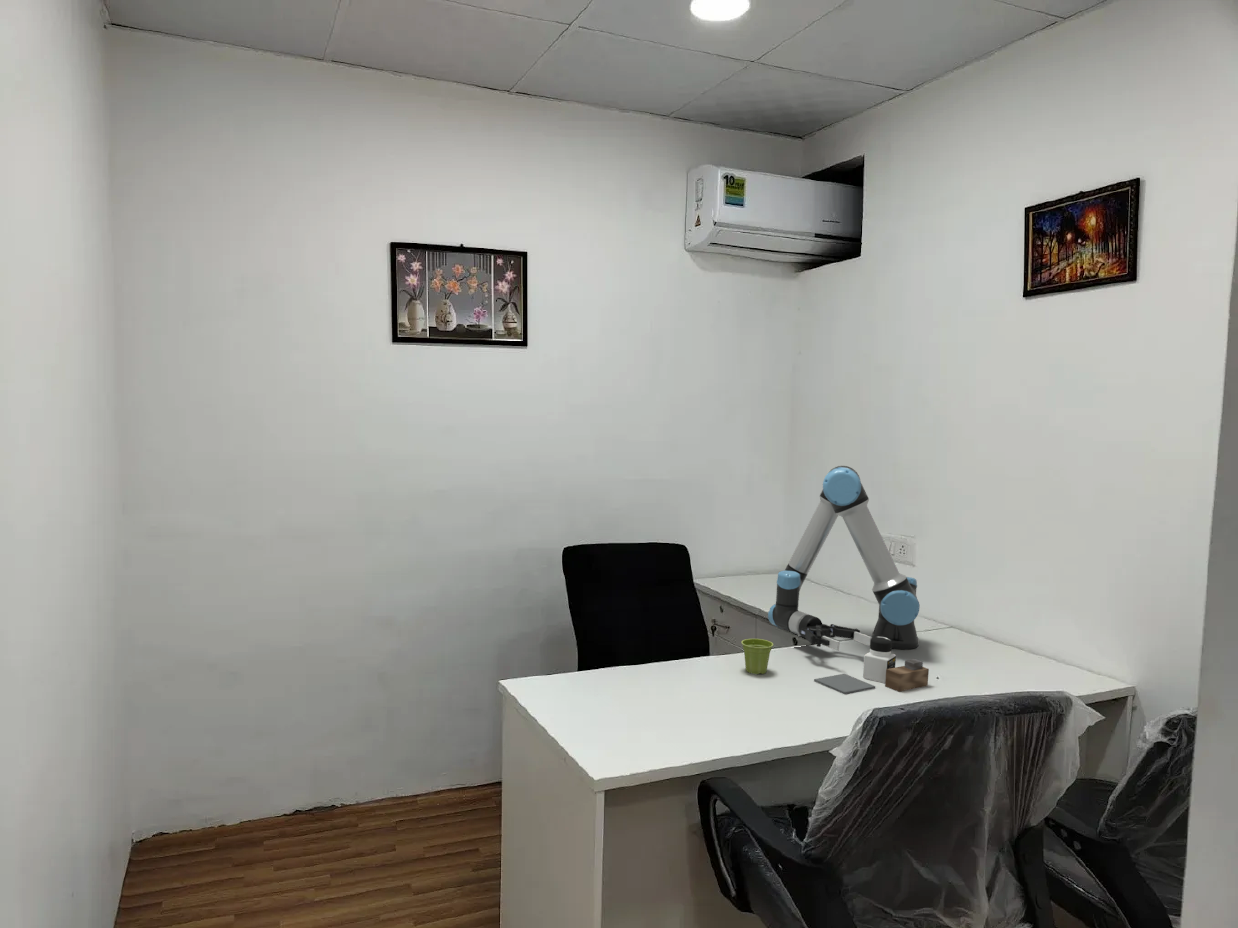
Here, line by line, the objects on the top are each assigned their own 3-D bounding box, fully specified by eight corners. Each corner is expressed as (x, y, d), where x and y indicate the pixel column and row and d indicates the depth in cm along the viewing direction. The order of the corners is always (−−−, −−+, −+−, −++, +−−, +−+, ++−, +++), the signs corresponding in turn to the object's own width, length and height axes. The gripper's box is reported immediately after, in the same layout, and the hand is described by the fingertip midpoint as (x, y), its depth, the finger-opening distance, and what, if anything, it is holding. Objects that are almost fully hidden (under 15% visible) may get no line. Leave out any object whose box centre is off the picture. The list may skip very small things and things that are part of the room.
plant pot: (735, 672, 248) (736, 643, 247) (746, 664, 256) (747, 636, 255) (766, 678, 243) (767, 649, 243) (775, 669, 252) (777, 641, 251)
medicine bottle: (886, 683, 243) (889, 643, 242) (862, 678, 247) (864, 638, 246) (894, 677, 248) (897, 638, 248) (871, 672, 253) (873, 633, 252)
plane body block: (913, 680, 247) (915, 657, 246) (927, 685, 242) (929, 662, 242) (885, 686, 241) (886, 662, 240) (898, 691, 236) (900, 667, 236)
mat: (844, 675, 249) (844, 673, 249) (875, 688, 239) (875, 686, 238) (814, 681, 243) (814, 679, 243) (844, 694, 232) (844, 692, 232)
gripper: (833, 633, 280) (882, 651, 262) (776, 640, 268) (823, 660, 250) (834, 611, 280) (884, 627, 262) (777, 617, 267) (825, 635, 249)
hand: (854, 643), depth 256 cm, fingers open, 13 cm apart
